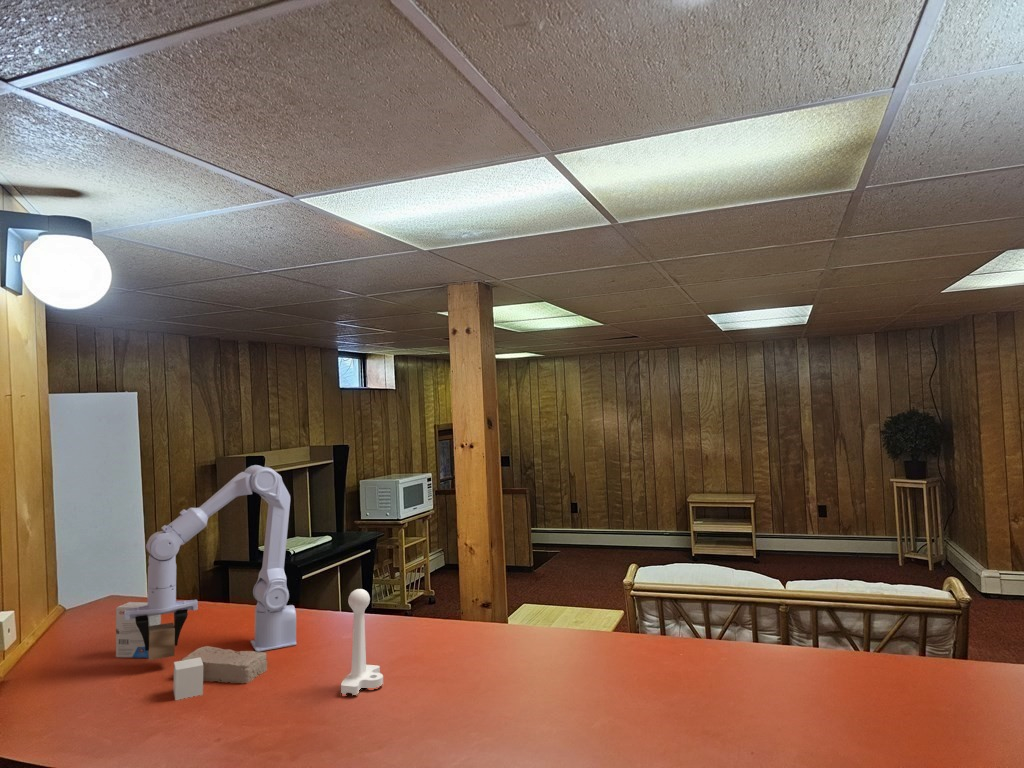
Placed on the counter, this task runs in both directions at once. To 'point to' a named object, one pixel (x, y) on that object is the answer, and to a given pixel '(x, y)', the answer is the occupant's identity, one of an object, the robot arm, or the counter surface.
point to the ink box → (131, 633)
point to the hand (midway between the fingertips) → (161, 646)
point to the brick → (229, 664)
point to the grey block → (188, 678)
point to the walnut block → (161, 641)
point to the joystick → (360, 650)
